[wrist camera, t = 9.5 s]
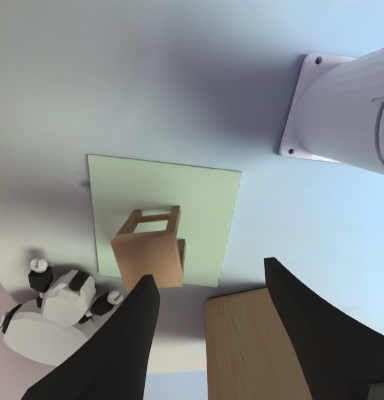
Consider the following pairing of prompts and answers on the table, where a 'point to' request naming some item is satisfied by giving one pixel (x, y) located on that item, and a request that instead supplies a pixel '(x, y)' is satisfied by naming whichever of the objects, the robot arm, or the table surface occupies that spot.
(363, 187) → the table surface
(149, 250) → the brown handled box
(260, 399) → the wooden block
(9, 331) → the robot toy
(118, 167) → the sage mat
